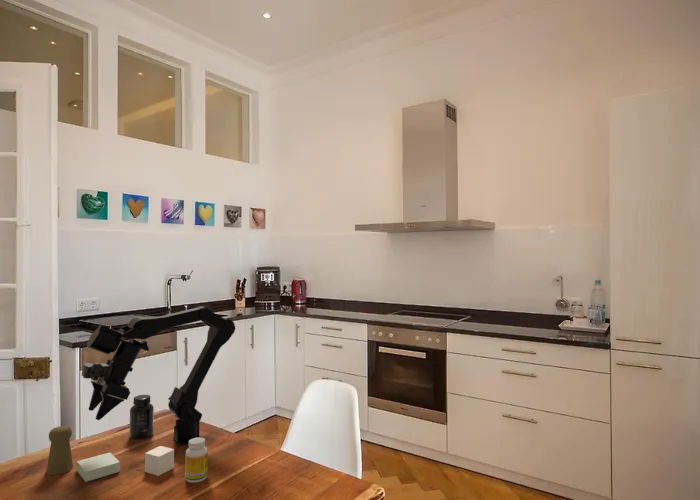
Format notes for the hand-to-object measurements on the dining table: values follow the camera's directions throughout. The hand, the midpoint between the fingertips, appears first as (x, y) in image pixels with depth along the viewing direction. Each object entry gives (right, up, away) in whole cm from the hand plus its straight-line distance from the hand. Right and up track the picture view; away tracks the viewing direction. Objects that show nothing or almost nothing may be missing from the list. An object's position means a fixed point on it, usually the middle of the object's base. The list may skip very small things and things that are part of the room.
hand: (93, 414), depth 125 cm
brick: (+19, -13, -3) cm, 24 cm away
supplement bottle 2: (+31, -13, -8) cm, 34 cm away
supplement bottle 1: (+4, -14, +19) cm, 24 cm away
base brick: (+4, -13, -5) cm, 14 cm away
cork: (-7, -13, -4) cm, 15 cm away
